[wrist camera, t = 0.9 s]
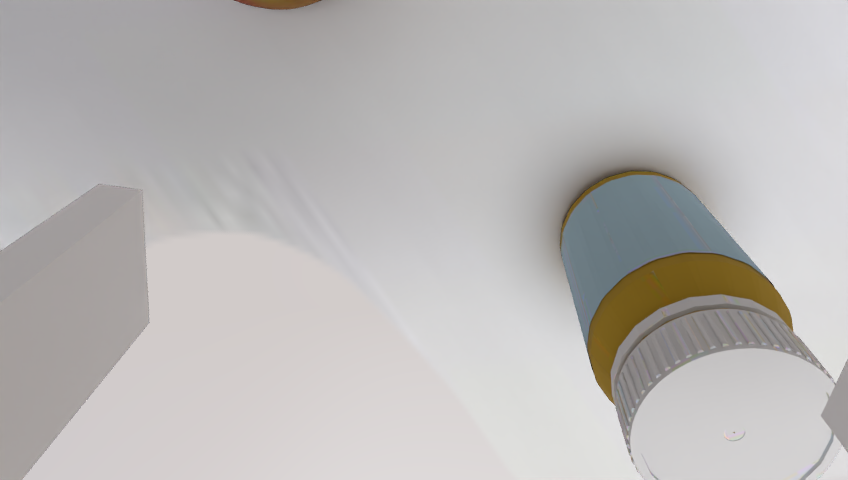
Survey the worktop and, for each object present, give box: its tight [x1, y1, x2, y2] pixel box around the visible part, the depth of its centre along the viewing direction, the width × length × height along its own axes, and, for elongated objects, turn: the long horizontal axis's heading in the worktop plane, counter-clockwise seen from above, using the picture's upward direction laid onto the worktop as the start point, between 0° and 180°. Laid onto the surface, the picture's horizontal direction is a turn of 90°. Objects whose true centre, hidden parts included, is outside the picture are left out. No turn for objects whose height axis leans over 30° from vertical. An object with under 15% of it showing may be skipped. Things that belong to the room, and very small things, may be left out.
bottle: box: [560, 171, 842, 480], centre depth 26 cm, size 7×7×15 cm
